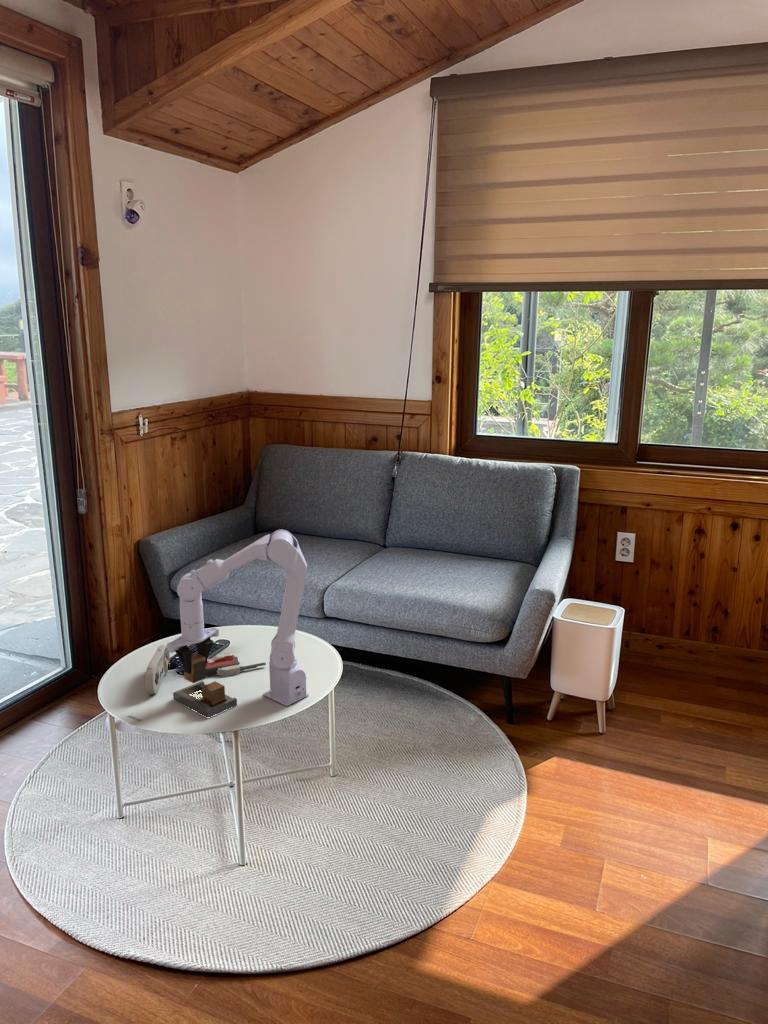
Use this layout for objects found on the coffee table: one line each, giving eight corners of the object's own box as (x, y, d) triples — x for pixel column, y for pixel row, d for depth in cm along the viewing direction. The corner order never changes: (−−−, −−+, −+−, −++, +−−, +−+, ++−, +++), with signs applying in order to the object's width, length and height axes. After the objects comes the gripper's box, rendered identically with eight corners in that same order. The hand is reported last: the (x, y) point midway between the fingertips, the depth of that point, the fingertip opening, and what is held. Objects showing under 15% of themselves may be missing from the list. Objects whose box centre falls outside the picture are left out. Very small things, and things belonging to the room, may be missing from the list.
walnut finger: (207, 678, 200) (206, 657, 199) (194, 684, 198) (193, 662, 196) (197, 673, 203) (196, 652, 202) (184, 678, 201) (183, 657, 199)
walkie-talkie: (197, 683, 211) (267, 669, 220) (196, 668, 210) (266, 655, 218) (189, 671, 219) (258, 657, 227) (188, 656, 218) (257, 643, 226)
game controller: (155, 699, 202) (152, 670, 200) (146, 699, 201) (143, 670, 199) (171, 667, 220) (169, 640, 218) (163, 667, 220) (161, 640, 218)
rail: (237, 705, 198) (236, 684, 197) (208, 718, 192) (206, 696, 190) (202, 687, 208) (201, 667, 206) (173, 699, 201) (172, 678, 200)
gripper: (206, 608, 205) (209, 656, 208) (158, 624, 194) (162, 673, 197) (222, 615, 200) (225, 663, 203) (174, 631, 189) (178, 682, 193)
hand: (195, 669), depth 200 cm, fingers closed on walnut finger, 4 cm apart
